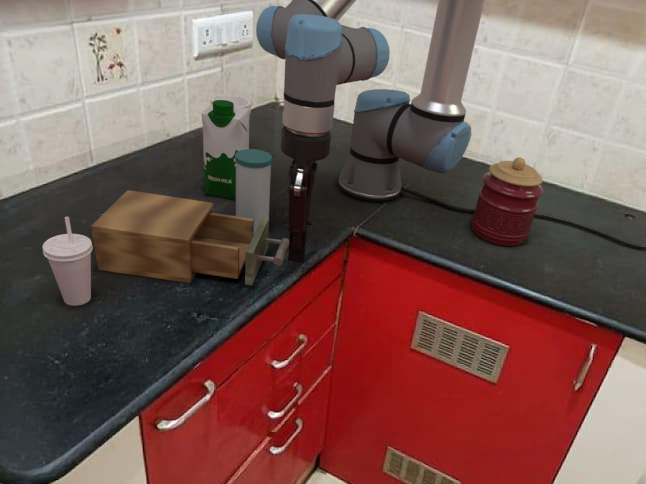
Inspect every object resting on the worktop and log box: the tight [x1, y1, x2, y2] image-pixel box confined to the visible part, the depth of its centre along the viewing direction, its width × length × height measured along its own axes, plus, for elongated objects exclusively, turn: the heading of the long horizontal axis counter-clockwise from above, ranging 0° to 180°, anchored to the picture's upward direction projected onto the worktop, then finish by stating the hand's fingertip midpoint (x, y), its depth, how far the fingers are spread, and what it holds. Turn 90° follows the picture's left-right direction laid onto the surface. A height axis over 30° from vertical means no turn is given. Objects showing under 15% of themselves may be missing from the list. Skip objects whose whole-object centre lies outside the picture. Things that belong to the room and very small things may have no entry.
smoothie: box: [42, 216, 94, 307], centre depth 81 cm, size 6×6×14 cm
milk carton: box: [201, 100, 251, 201], centre depth 117 cm, size 9×9×20 cm
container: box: [235, 148, 273, 236], centre depth 107 cm, size 7×7×15 cm
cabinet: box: [90, 189, 215, 284], centre depth 96 cm, size 15×14×8 cm
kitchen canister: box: [470, 157, 544, 247], centre depth 120 cm, size 13×13×18 cm
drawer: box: [190, 212, 289, 286], centre depth 96 cm, size 18×13×6 cm
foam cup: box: [210, 94, 252, 114], centre depth 137 cm, size 10×9×13 cm
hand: (296, 259), depth 97 cm, fingers closed
